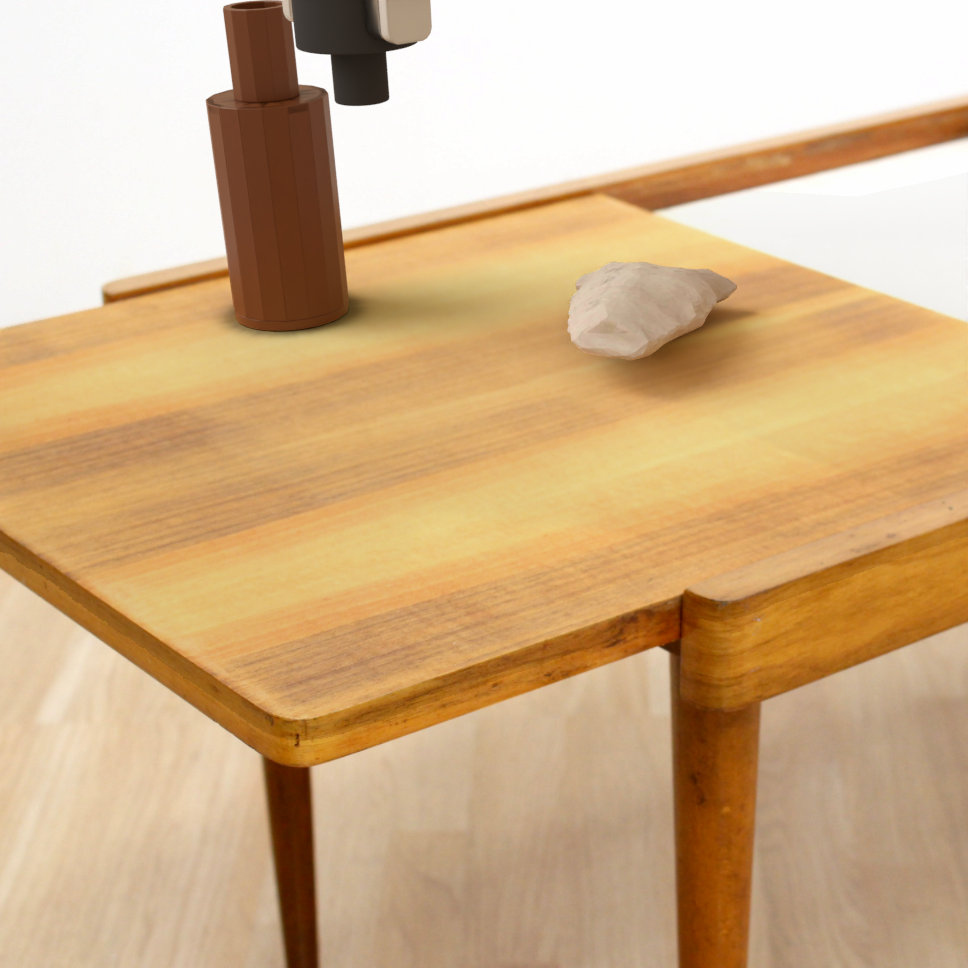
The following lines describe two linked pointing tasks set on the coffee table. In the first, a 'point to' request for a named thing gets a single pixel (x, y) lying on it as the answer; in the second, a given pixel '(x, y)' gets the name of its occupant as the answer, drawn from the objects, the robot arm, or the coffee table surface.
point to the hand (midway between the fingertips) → (356, 31)
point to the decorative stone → (641, 307)
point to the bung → (345, 48)
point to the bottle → (276, 179)
